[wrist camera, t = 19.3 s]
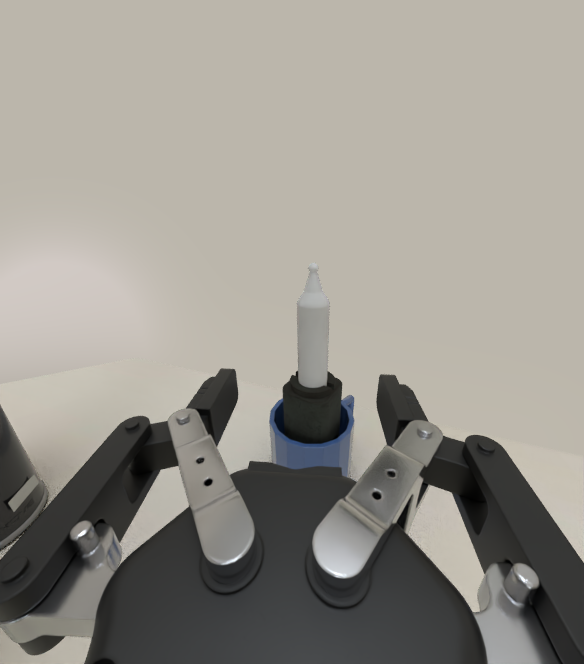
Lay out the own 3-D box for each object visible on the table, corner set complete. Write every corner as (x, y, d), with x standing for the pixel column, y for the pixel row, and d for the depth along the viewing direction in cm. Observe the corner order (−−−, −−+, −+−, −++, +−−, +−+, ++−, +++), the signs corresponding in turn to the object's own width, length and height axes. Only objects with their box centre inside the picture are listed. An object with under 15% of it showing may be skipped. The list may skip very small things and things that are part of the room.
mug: (314, 532, 27) (314, 464, 24) (259, 477, 33) (253, 415, 30) (377, 460, 35) (386, 400, 32) (324, 425, 41) (325, 372, 38)
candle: (304, 451, 36) (303, 257, 26) (340, 468, 33) (353, 260, 24) (282, 479, 32) (271, 265, 22) (320, 502, 30) (326, 270, 20)
